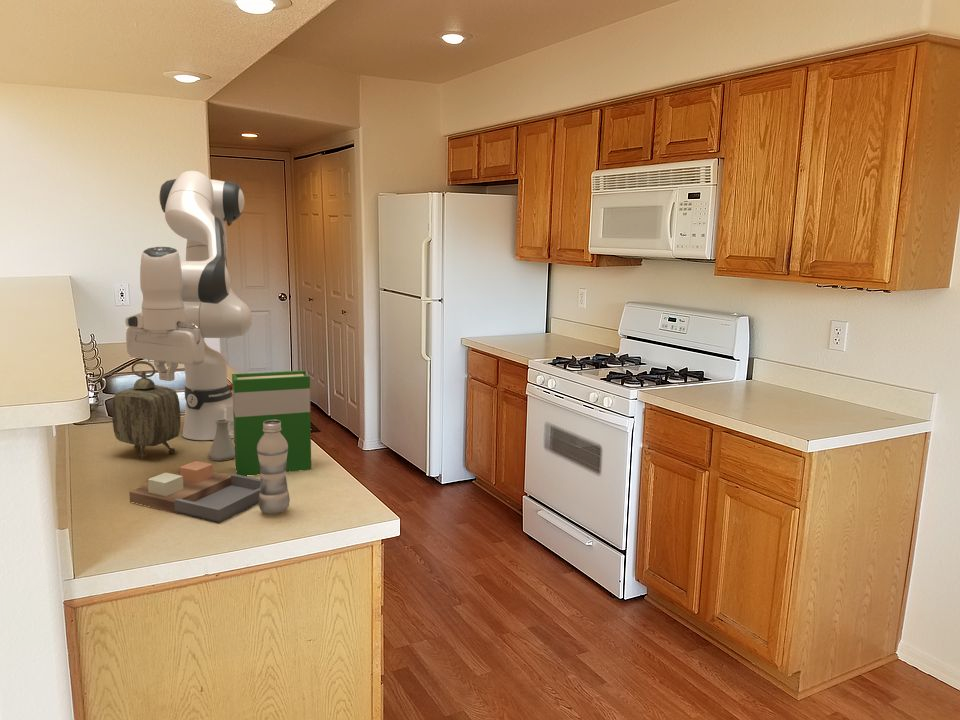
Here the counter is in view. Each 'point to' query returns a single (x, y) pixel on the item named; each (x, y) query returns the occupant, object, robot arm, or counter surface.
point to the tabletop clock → (146, 413)
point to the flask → (222, 443)
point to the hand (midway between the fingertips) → (167, 380)
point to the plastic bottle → (273, 469)
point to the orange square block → (196, 471)
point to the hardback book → (271, 416)
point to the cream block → (165, 484)
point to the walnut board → (181, 492)
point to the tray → (223, 501)
